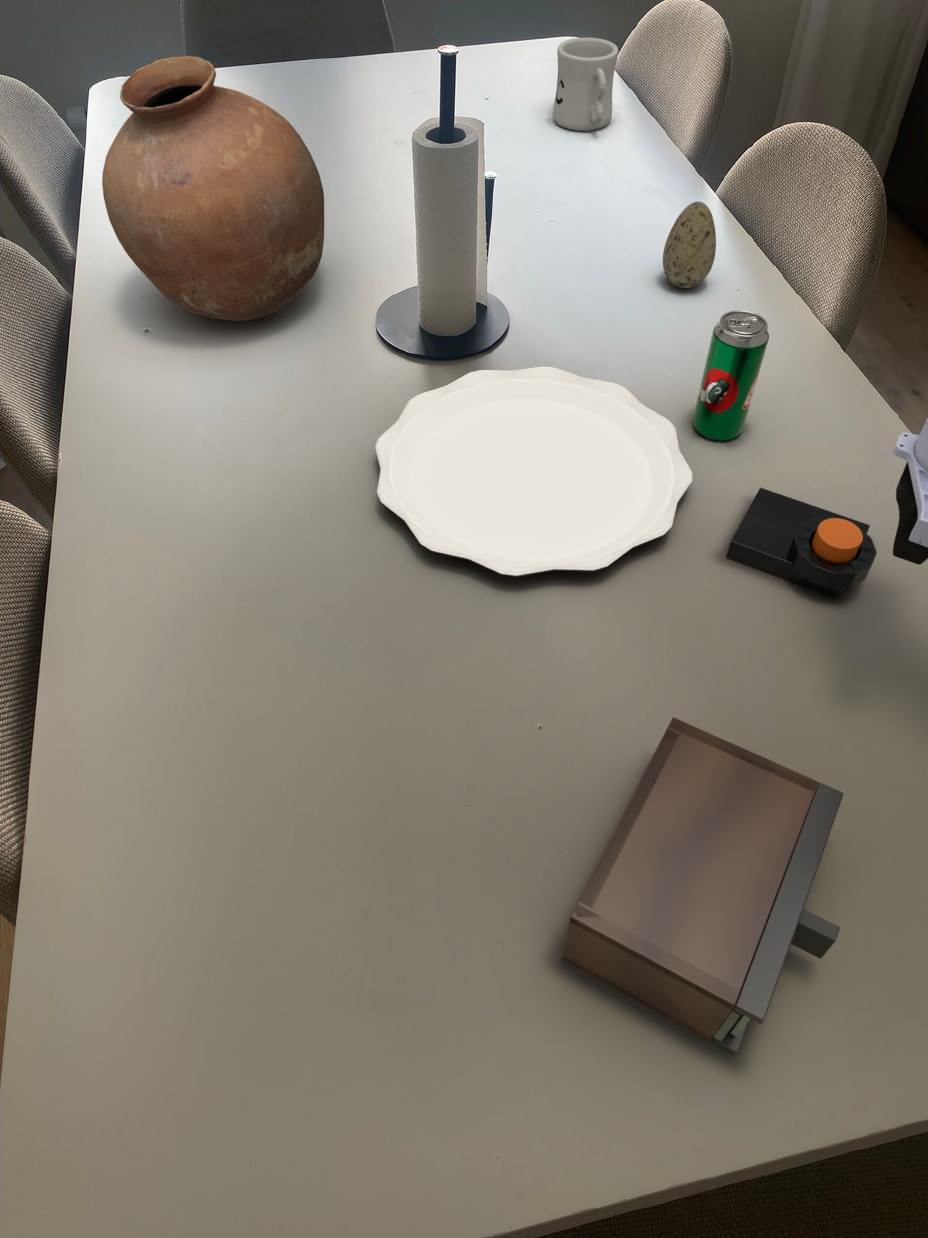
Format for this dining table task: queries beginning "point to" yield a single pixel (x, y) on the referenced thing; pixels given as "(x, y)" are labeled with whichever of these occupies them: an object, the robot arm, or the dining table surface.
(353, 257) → the dining table surface
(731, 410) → the soda can
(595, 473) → the plate
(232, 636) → the dining table surface
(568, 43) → the mug
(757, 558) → the control box
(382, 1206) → the dining table surface
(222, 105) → the pottery
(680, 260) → the decorative egg
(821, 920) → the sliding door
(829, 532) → the button
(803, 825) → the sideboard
